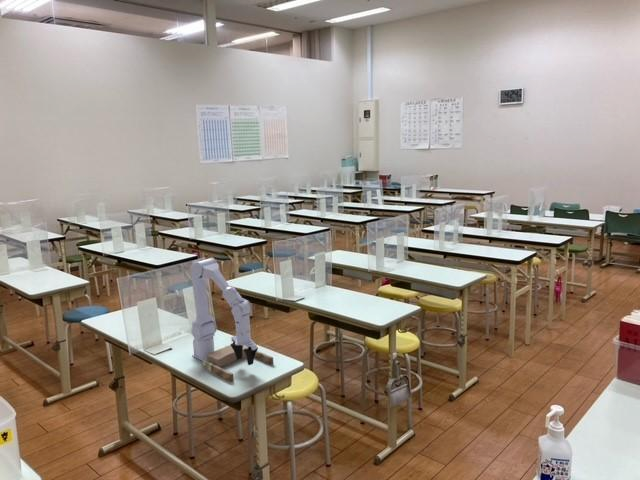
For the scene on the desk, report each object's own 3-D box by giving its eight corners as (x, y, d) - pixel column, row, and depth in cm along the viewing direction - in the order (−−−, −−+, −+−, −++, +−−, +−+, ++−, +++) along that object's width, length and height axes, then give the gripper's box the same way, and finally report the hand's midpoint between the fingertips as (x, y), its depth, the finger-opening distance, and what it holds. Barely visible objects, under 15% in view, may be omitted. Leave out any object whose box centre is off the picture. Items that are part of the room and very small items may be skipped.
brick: (205, 354, 210) (206, 364, 211) (217, 359, 205) (217, 370, 206) (236, 341, 222) (236, 351, 223) (248, 346, 217) (248, 356, 218)
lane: (203, 367, 208) (202, 360, 207) (244, 351, 223) (244, 345, 222) (231, 382, 194) (230, 374, 194) (273, 364, 209) (273, 357, 209)
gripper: (224, 329, 204) (226, 359, 207) (245, 337, 194) (247, 370, 197) (238, 324, 209) (240, 354, 212) (260, 332, 199) (261, 364, 202)
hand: (244, 361), depth 204 cm, fingers open, 7 cm apart
